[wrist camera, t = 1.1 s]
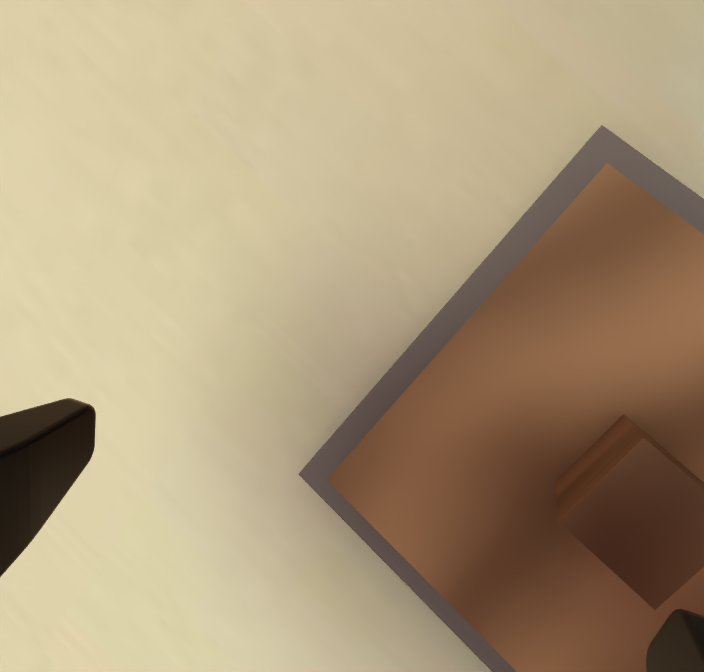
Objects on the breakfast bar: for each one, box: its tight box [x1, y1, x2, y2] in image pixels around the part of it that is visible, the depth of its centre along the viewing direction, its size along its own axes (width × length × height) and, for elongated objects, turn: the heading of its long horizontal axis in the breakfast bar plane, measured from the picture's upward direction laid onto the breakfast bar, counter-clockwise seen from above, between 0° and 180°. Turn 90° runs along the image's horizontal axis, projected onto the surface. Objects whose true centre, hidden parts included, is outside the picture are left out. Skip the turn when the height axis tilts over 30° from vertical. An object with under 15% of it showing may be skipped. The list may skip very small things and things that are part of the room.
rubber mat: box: [299, 125, 704, 672], centre depth 20 cm, size 16×16×1 cm
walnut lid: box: [327, 163, 704, 672], centre depth 17 cm, size 14×14×5 cm
